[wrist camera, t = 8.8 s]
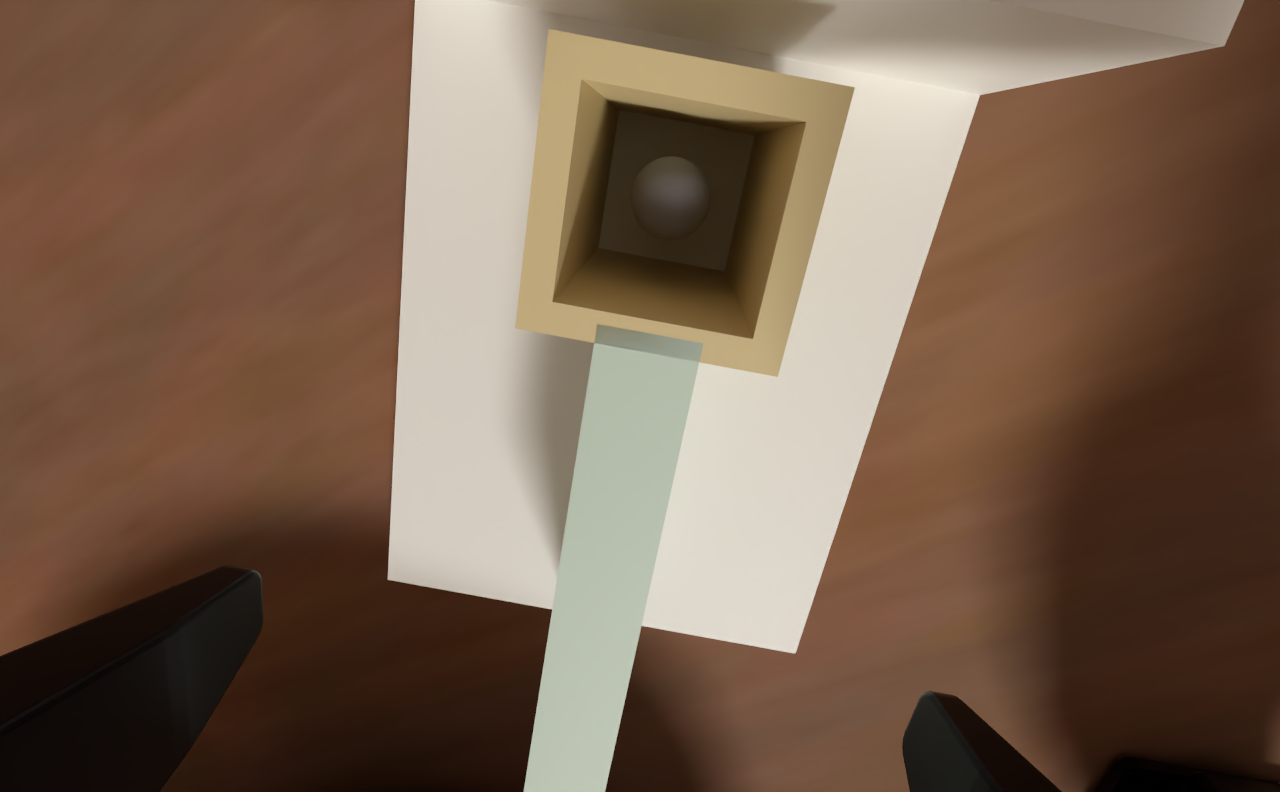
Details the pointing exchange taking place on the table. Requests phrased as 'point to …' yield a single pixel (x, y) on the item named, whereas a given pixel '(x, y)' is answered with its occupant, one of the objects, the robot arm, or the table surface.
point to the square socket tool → (649, 340)
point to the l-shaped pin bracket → (700, 236)
